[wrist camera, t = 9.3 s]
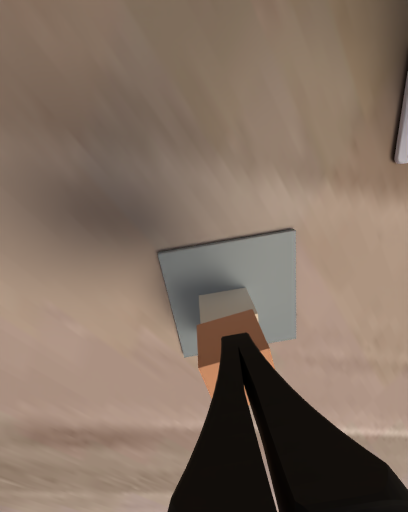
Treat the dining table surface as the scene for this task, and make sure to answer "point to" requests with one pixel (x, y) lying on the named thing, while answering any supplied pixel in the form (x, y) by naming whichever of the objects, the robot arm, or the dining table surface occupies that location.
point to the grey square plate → (234, 282)
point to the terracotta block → (211, 343)
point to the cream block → (224, 304)
